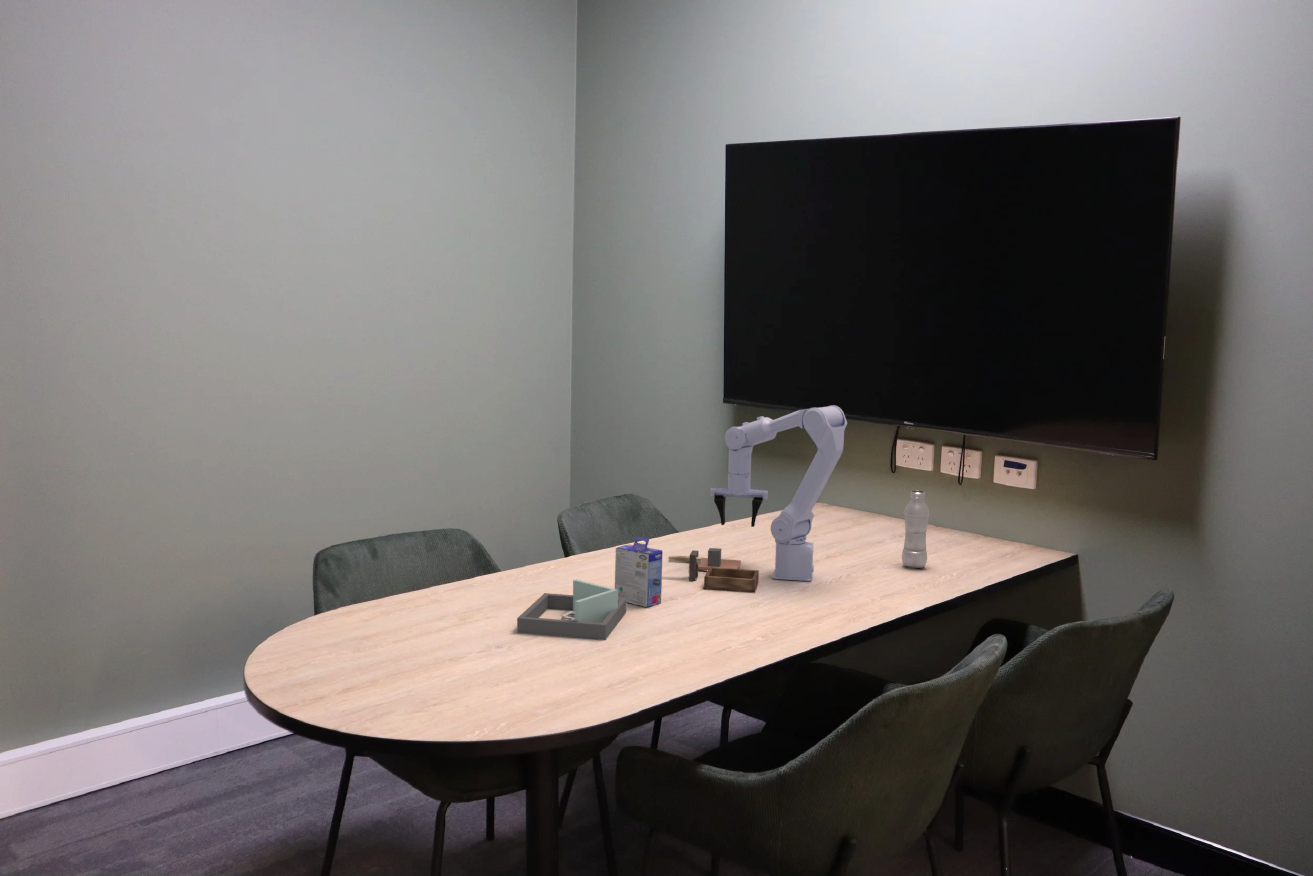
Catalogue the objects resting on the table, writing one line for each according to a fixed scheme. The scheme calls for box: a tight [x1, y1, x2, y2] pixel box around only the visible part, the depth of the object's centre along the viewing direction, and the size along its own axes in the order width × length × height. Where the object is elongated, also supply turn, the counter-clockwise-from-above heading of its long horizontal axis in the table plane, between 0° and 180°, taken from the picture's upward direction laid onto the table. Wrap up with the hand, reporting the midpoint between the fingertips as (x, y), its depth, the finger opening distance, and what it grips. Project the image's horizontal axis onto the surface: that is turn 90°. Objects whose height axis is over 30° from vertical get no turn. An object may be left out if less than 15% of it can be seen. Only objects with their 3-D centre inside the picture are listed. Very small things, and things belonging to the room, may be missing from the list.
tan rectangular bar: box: [667, 554, 703, 564], centre depth 244 cm, size 8×2×1 cm, turn 79°
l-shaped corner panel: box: [560, 578, 618, 623], centre depth 209 cm, size 12×12×8 cm
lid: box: [698, 547, 742, 571], centre depth 255 cm, size 12×9×6 cm
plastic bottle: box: [901, 489, 930, 569], centre depth 258 cm, size 6×7×20 cm
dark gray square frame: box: [516, 592, 627, 641], centre depth 209 cm, size 18×18×3 cm
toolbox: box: [688, 550, 760, 594], centre depth 240 cm, size 16×10×7 cm, turn 79°
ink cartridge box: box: [614, 535, 663, 608], centre depth 224 cm, size 10×6×14 cm, turn 53°
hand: (738, 525), depth 257 cm, fingers open, 7 cm apart
